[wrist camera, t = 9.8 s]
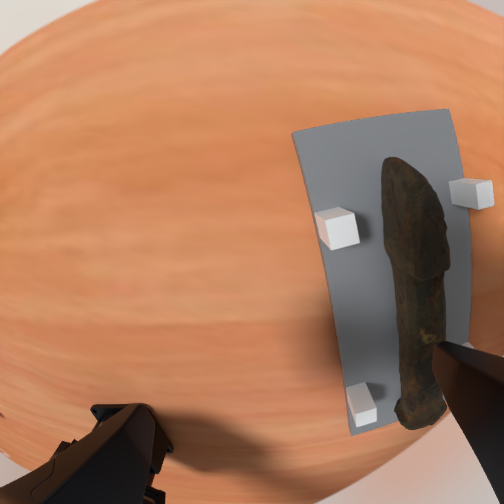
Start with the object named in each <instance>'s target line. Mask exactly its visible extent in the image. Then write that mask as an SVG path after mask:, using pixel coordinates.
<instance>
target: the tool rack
mask: <svg viewBox="0 0 504 504" xmlns="http://www.w3.org/2000/svg"><path fill="white" fill-rule="evenodd" d="M291 135H292V138H293V142H294V145H295V149H296V153H297V156H298V160H299V164H300V167H301V171H302V175H303V179H304V183H305V187H306V191H307V195H308V199H309V203H310V207H311V211H312V215H313V220H314V224H315V228H316V233H317V237H318V242H319V246H320V251H321V256H322V261H323V265H324V270H325V275H326V280H327V285H328V291H329V296H330V301H331V307H332V312H333V318H334V324H335V329H336V335H337V342H338V348H339V354H340V361H341V368H342V375H343V382H344V389H345V397H346V405H347V414H348V423H349V430H350V433H351V436H353V435H357V434H360V433H363V432H367V431H370V430H373V429H376V428H379V427H382V426H385V425H388V424H391V423H394V422H396V421H399V420H398V418H397V416H396V413H395V412H394V408H395V406H396V403H397V401H398V399H401V382H400V373H399V334H398V329H397V320H396V314H397V310H396V300H395V287H394V278H393V271H392V265H391V261H390V258H389V256H388V255H387V253H386V251H385V248H384V235H383V216H382V209H381V203H382V201H381V171H382V164H383V161H384V159H385V158H388V157H398V158H400V159H402V160H404V161H405V162H407V163H408V164H410V165H411V166H412V167H414V168H415V169H416V170H418V171H419V172H420V173H421V174H422V175H424V176H425V177H426V178H427V180H428V182H429V184H430V185H431V186H432V188H433V190H434V191H435V192H436V193H437V196H438V198H439V201H440V203H441V205H442V208H443V211H444V215H445V217H444V220H445V222H446V225H447V231H446V236H447V241H448V244H449V247H450V263H451V266H450V268H449V270H447V271H445V272H444V273H445V275H444V288H445V298H446V341H449V342H452V343H456V344H459V345H462V346H466V347H469V348H472V349H475V348H474V347H473V346H472V345H471V344H470V343H469V342H468V338H469V327H470V314H471V295H472V253H471V233H470V220H469V210H468V208H473V209H477V210H480V209H484V208H487V207H490V206H494V195H493V186H492V180H481V179H469V178H464V173H463V167H462V162H461V157H460V152H459V147H458V142H457V138H456V134H455V130H454V126H453V122H452V118H451V114H450V111H449V109H439V110H427V111H417V112H407V113H399V114H391V115H383V116H376V117H370V118H363V119H357V120H351V121H345V122H339V123H334V124H329V125H324V126H318V127H314V128H309V129H304V130H299V131H295V132H293V133H292V134H291ZM443 399H444V400H445V398H444V396H443ZM445 401H446V400H445Z"/></svg>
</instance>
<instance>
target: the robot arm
mask: <svg viewBox="0 0 504 504" xmlns="http://www.w3.org/2000/svg"><path fill="white" fill-rule="evenodd" d="M432 371H433V374H434V376H435V378H436V380H437V383H438V385H439V387H440V389H441V391H442V393H443V396H444V398H445V400H446V402H447V404H448V406H449V409H450V410H451V412H452V414H453V416H454V417H455V419H456V421H457V423H458V424H459V426H460V428H461V429H462V431H463V433H464V435H465V436H466V438H467V440H468V442H469V444H470V445H471V447H472V449H473V451H474V453H475V455H476V456H477V458H478V460H479V462H480V464H481V466H482V468H483V470H484V472H485V474H486V476H487V478H488V480H489V481H490V483H491V486H492V488H493V490H494V492H495V494H496V496H497V498H498V500H499V502H500V504H504V357H500V356H497V355H493V354H490V353H486V352H483V351H479V350H476V349H472V348H469V347H466V346H462V345H459V344H456V343H452V342H449V341H444V342H441V343H438V344H436V345H435V346H434V350H433V360H432ZM90 410H91V412H92V413H93V415H94V416H95V418H96V419H97V421H98V422H97V423H96V425H95V427H94V428H93V430H92V432H91V433H89V434H88V435H86V436H85V437H83V438H82V439H81V440H79V441H77V440H75V439H74V440H73V441H72V443H68V442H65V441H62V442H61V443H60V445H59V447H58V448H57V450H56V451H55V453H54V454H53V456H52V457H51V459H50V460H49V461H48V462H47V463H45V464H44V465H42V466H40V467H39V468H37V469H35V470H34V471H32V472H30V473H28V474H26V475H25V476H23V477H21V478H19V479H17V480H15V481H13V482H11V483H9V484H7V485H5V486H3V487H0V504H165V495H166V493H165V492H164V491H162V490H157V489H155V488H153V487H151V485H152V482H153V479H154V476H155V474H159V472H160V470H161V467H162V464H163V461H164V458H165V455H166V453H172V452H173V450H174V447H173V446H172V444H171V443H170V441H169V440H168V439H167V437H166V436H165V434H164V433H163V431H162V430H161V428H160V426H159V425H158V423H157V422H156V420H155V419H154V417H153V416H152V414H151V412H150V411H149V409H148V408H147V407H146V406H145V405H144V404H142V403H131V404H129V405H93V406H92V407H91V409H90Z"/></svg>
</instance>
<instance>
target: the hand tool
mask: <svg viewBox="0 0 504 504" xmlns="http://www.w3.org/2000/svg"><path fill="white" fill-rule="evenodd" d="M381 201H382V203H381V209H382V216H383V235H384V248H385V251H386V253H387V255H388V256H389V258H390V261H391V265H392V271H393V278H394V287H395V300H396V310H397V314H396V320H397V329H398V334H399V373H400V382H401V399H398V401H397V403H396V406H395V408H394V412H395V413H396V416H397V418H398V420H399V422H400V423H401V425H403V426H404V427H405V428H406V429H408V430H416V429H419V428H423V427H426V426H428V425H433V424H434V423H435V422H436V421H437V420H438V419H439V418H440V417H441V416H442V415H443V414H444V412H445V411H446V409H447V405H446V402H445V400H444V399H443V393H442V391H441V389H440V387H439V385H438V383H437V380H436V378H435V376H434V374H433V371H432V360H433V350H434V346H435V345H436V344H438V343H441V342H444V341H446V298H445V288H444V275H445V273H444V272H445V271H447V270H449V268H450V266H451V263H450V247H449V244H448V241H447V236H446V231H447V225H446V222H445V220H444V217H445V215H444V211H443V208H442V205H441V203H440V201H439V198H438V196H437V193H436V192H435V191H434V190H433V188H432V186H431V185H430V184H429V182H428V180H427V178H426V177H425V176H424V175H422V174H421V173H420V172H419V171H418V170H416V169H415V168H414V167H412V166H411V165H410V164H408V163H407V162H405V161H404V160H402V159H400V158H398V157H388V158H385V159H384V161H383V164H382V171H381Z"/></svg>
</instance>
